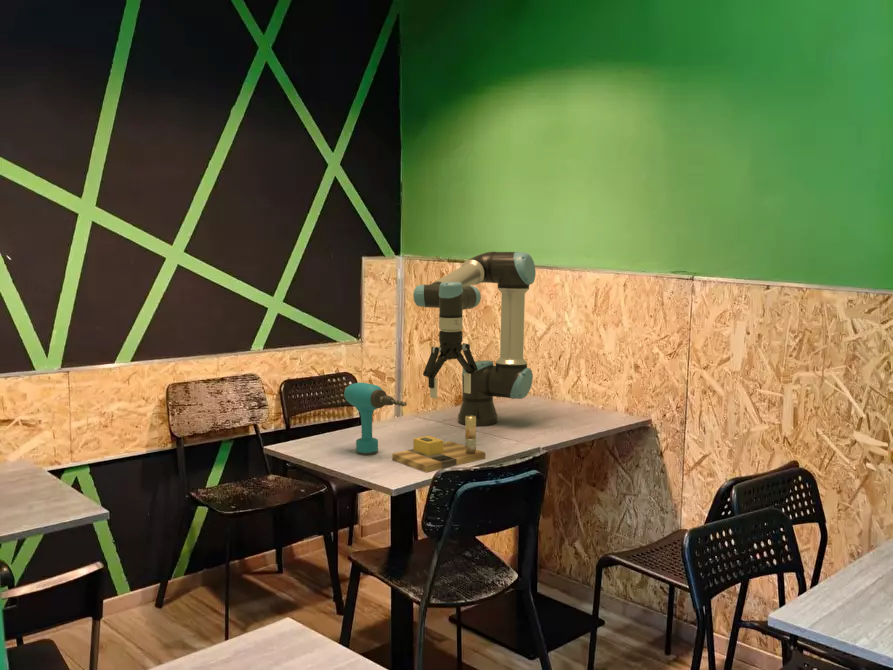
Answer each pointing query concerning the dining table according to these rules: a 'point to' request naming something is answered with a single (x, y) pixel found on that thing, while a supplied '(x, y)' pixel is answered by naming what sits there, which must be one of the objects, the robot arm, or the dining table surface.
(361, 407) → the power drill
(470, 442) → the brass cylinder rod
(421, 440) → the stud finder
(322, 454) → the dining table surface
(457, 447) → the subfloor panel
